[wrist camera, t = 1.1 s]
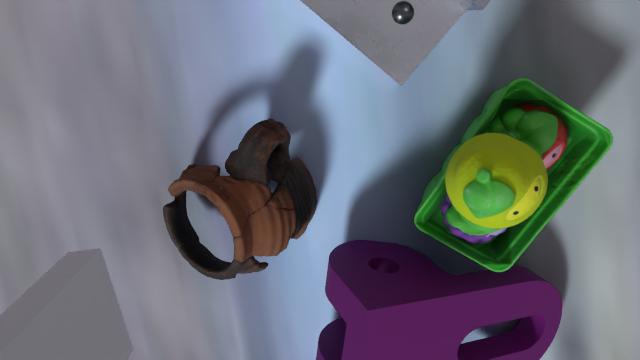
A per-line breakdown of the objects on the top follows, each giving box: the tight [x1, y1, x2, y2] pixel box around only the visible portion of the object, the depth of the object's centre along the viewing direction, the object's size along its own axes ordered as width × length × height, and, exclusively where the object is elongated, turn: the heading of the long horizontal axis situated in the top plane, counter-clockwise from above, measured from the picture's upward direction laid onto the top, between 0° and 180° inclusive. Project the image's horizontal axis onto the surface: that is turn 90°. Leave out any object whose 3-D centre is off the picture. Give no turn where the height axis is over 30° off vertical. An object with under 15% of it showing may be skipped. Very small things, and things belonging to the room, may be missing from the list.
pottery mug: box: [163, 119, 317, 280], centre depth 33 cm, size 12×9×8 cm
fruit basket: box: [414, 78, 613, 272], centre depth 29 cm, size 11×9×11 cm
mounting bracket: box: [316, 240, 562, 360], centre depth 37 cm, size 10×8×18 cm
